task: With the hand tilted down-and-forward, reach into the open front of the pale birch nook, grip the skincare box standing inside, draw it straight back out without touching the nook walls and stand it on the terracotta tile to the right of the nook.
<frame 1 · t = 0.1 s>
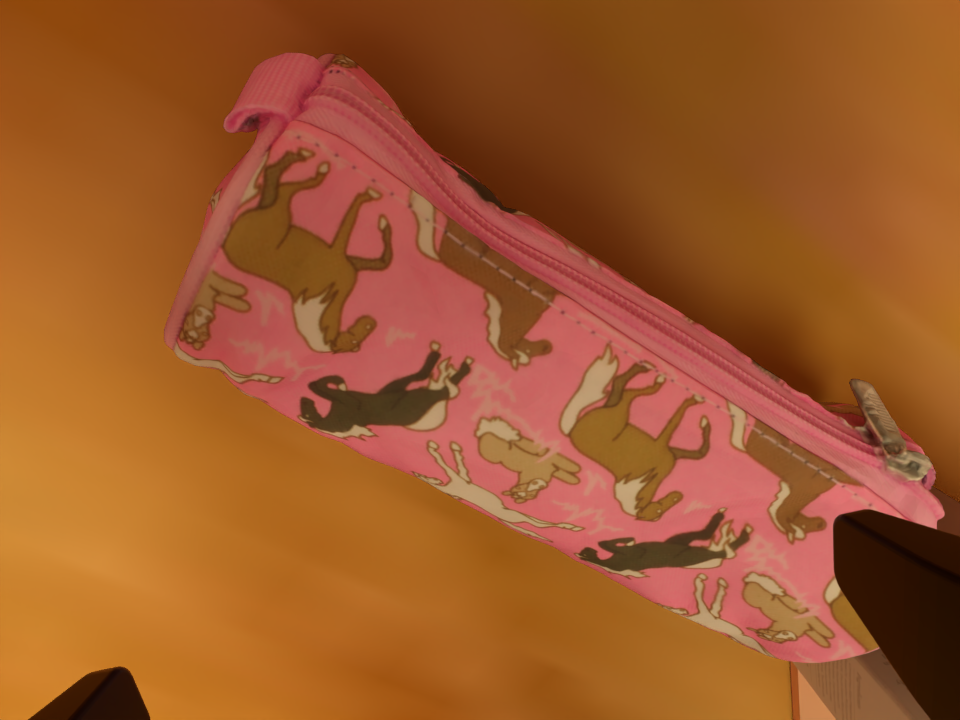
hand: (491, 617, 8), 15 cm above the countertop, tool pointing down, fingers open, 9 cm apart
pencil case: (535, 345, 23), on the countertop
tile: (890, 710, 29), on the countertop
skincare box: (841, 586, 27), on the countertop
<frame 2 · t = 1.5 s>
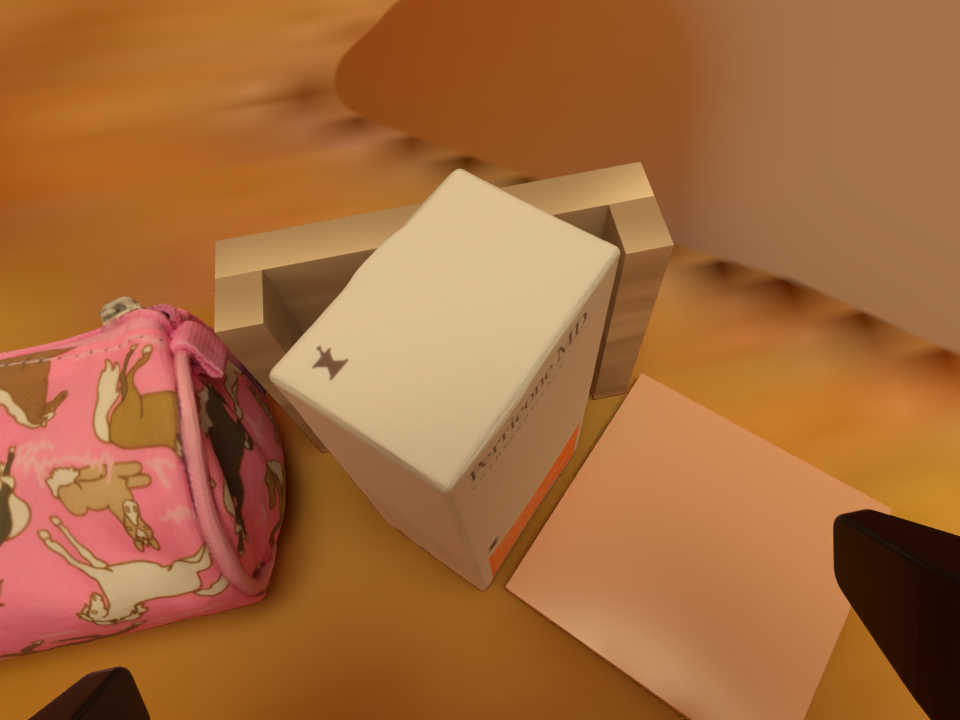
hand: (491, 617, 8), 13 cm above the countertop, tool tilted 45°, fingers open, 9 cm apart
pencil case: (20, 540, 23), on the countertop
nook: (455, 330, 20), on the countertop
tile: (695, 551, 21), on the countertop
skincare box: (486, 487, 23), on the countertop
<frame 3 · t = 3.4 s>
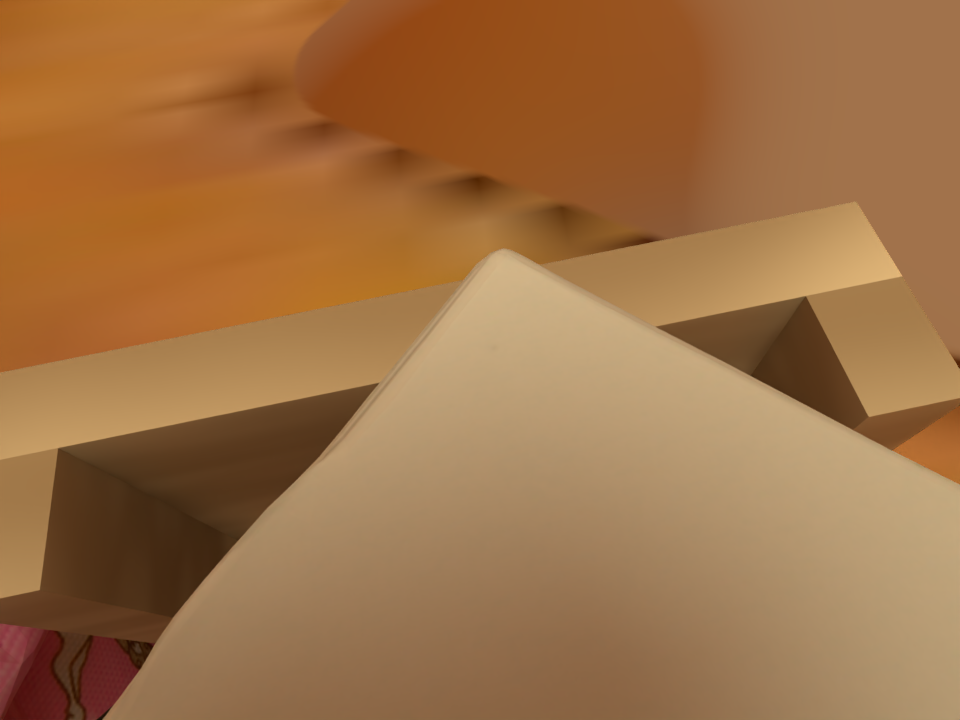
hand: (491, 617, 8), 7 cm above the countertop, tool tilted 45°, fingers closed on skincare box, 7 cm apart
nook: (471, 492, 11), on the countertop
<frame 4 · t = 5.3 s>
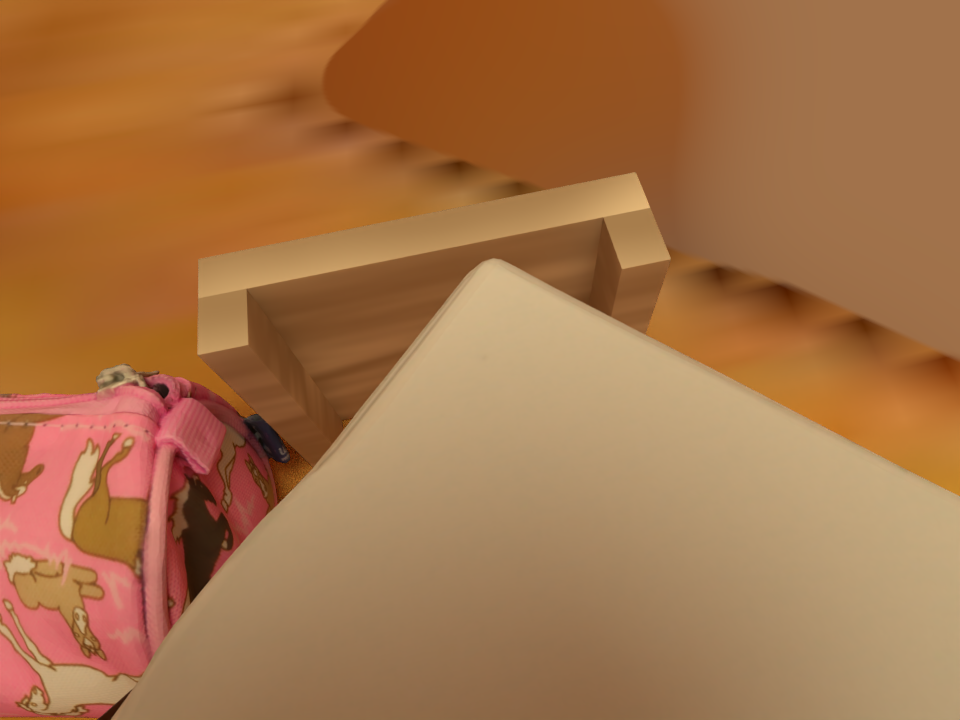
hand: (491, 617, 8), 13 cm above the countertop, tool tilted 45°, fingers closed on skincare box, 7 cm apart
pencil case: (6, 559, 23), on the countertop
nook: (448, 344, 20), on the countertop
skincare box: (525, 719, 14), point 6 cm above the countertop, touching gripper
when the fingers open (9 cm above the countertop, at t = 7.3 s): skincare box stays where it is, resting on tile.
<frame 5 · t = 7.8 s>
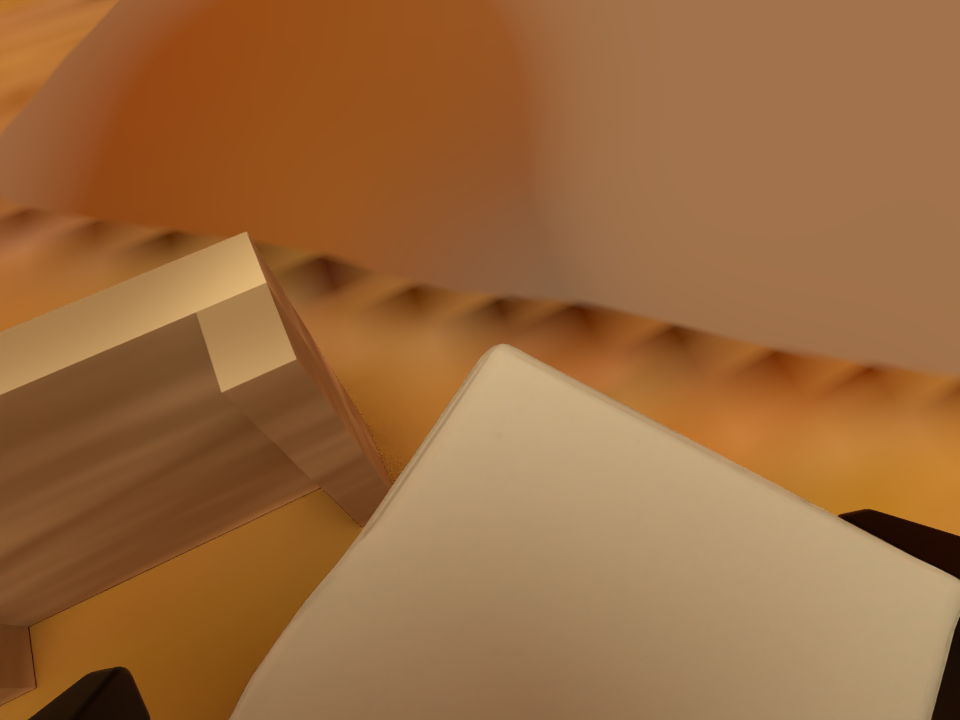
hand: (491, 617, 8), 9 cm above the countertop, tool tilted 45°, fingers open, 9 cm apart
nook: (93, 516, 14), on the countertop
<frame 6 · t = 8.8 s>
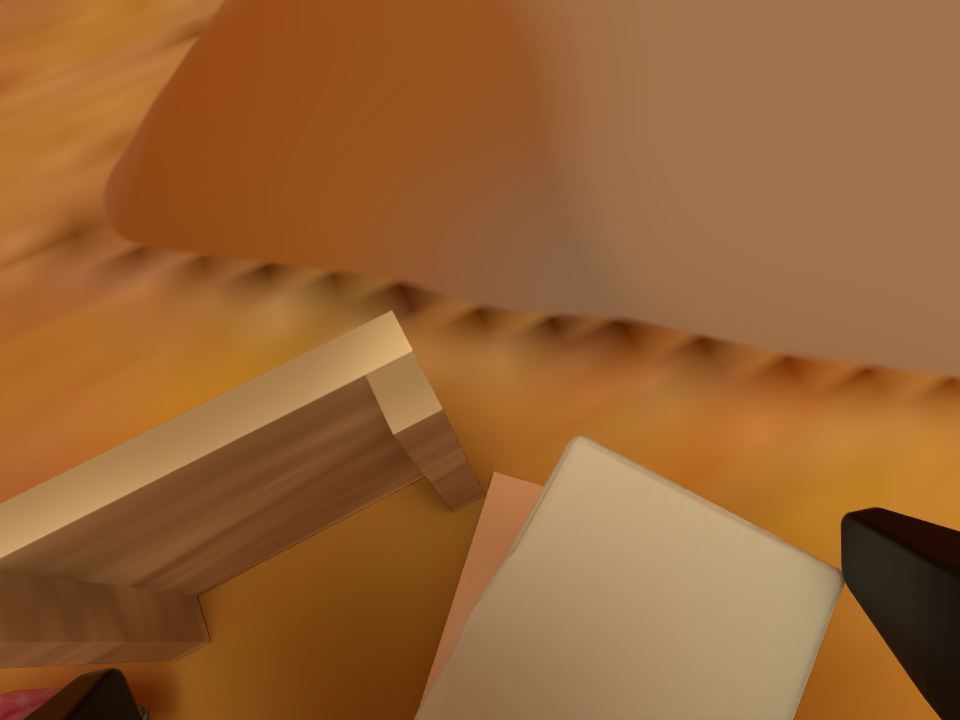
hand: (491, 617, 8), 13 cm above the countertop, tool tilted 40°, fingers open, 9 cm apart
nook: (266, 514, 18), on the countertop
tile: (590, 655, 20), on the countertop
skincare box: (594, 663, 19), point 1 cm above the countertop, touching gripper, tile
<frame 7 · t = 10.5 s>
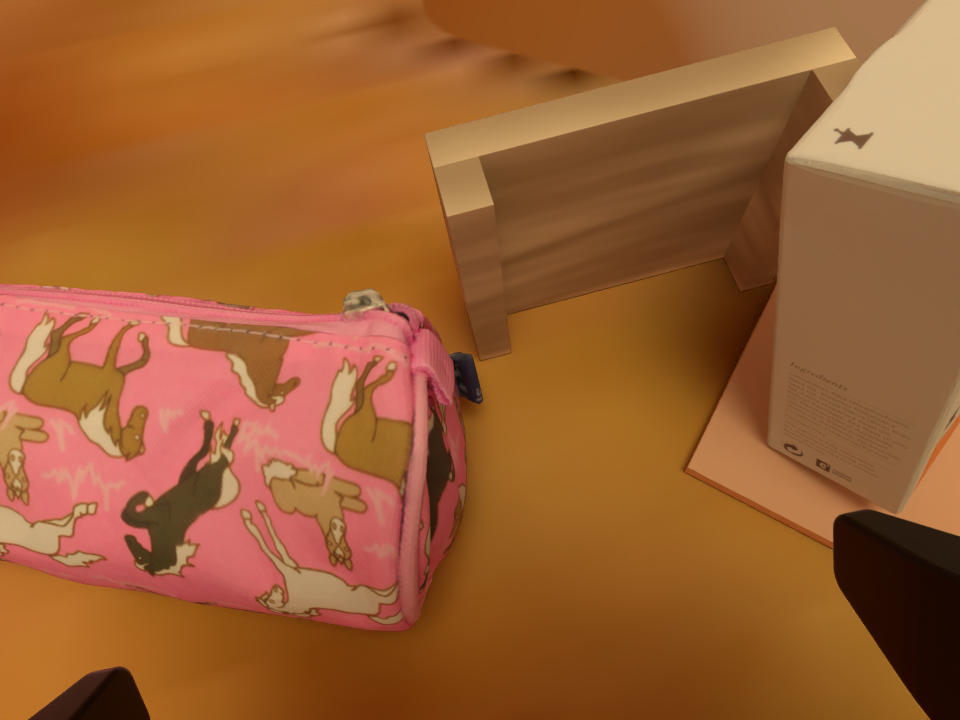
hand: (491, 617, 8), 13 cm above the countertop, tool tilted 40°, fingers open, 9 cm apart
pencil case: (197, 462, 24), on the countertop
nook: (627, 221, 21), on the countertop
tile: (863, 423, 22), on the countertop
skincare box: (877, 415, 21), point 1 cm above the countertop, touching tile
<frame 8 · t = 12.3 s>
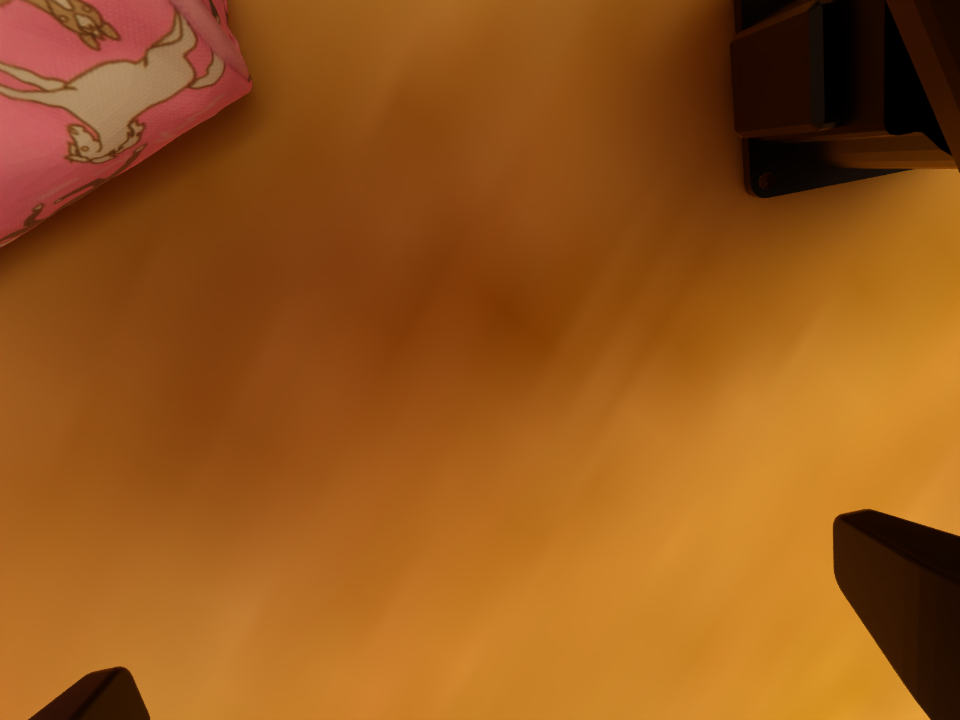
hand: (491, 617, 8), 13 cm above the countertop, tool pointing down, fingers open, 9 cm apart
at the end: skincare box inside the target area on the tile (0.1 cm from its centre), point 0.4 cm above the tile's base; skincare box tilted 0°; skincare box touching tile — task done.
